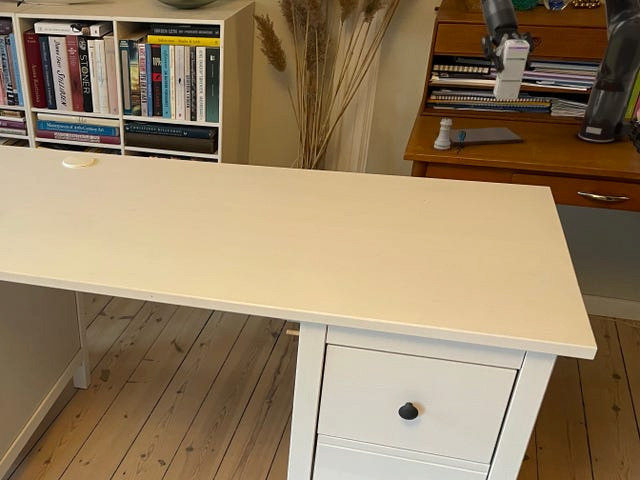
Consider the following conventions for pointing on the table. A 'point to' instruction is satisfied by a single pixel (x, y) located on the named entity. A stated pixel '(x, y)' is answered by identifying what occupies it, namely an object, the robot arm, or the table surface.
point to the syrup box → (511, 69)
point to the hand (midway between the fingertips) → (514, 69)
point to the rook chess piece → (443, 135)
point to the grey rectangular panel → (484, 136)
